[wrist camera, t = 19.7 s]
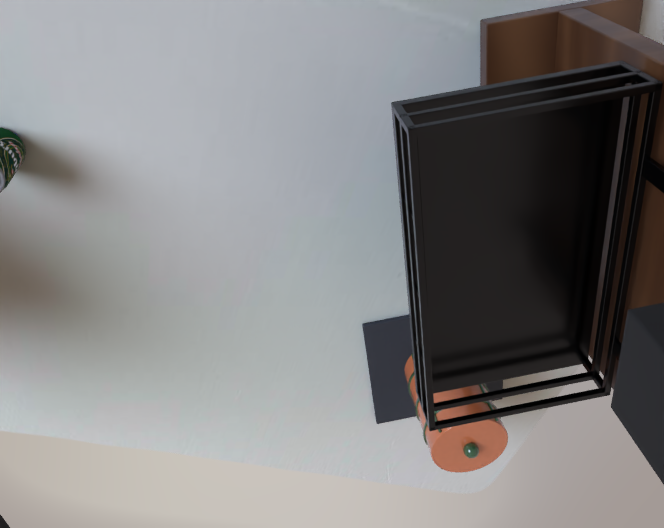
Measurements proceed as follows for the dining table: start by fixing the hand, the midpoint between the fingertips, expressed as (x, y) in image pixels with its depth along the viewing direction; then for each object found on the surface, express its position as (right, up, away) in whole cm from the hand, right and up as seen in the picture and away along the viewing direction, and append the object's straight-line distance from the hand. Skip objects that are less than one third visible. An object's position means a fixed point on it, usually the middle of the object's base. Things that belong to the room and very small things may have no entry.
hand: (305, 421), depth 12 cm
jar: (+10, -6, +42) cm, 44 cm away
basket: (+12, +4, +24) cm, 27 cm away
